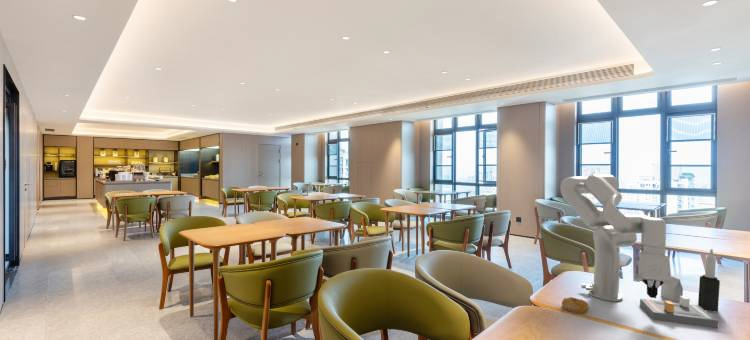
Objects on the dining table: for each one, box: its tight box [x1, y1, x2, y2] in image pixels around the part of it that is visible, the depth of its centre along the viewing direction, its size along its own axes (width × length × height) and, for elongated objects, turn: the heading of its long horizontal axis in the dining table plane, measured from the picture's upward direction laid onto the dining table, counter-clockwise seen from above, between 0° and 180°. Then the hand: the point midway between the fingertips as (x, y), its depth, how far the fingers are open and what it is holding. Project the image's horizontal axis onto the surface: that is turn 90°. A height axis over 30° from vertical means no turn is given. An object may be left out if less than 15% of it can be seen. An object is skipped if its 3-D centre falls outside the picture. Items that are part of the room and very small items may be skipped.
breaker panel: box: [639, 295, 719, 330], centre depth 144 cm, size 20×14×7 cm
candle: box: [697, 248, 721, 313], centre depth 151 cm, size 5×5×25 cm
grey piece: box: [660, 275, 684, 303], centre depth 161 cm, size 4×7×10 cm, turn 4°
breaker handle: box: [664, 300, 674, 313], centre depth 141 cm, size 2×3×3 cm, turn 162°
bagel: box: [561, 296, 590, 315], centre depth 149 cm, size 10×11×5 cm
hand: (652, 296), depth 142 cm, fingers closed
